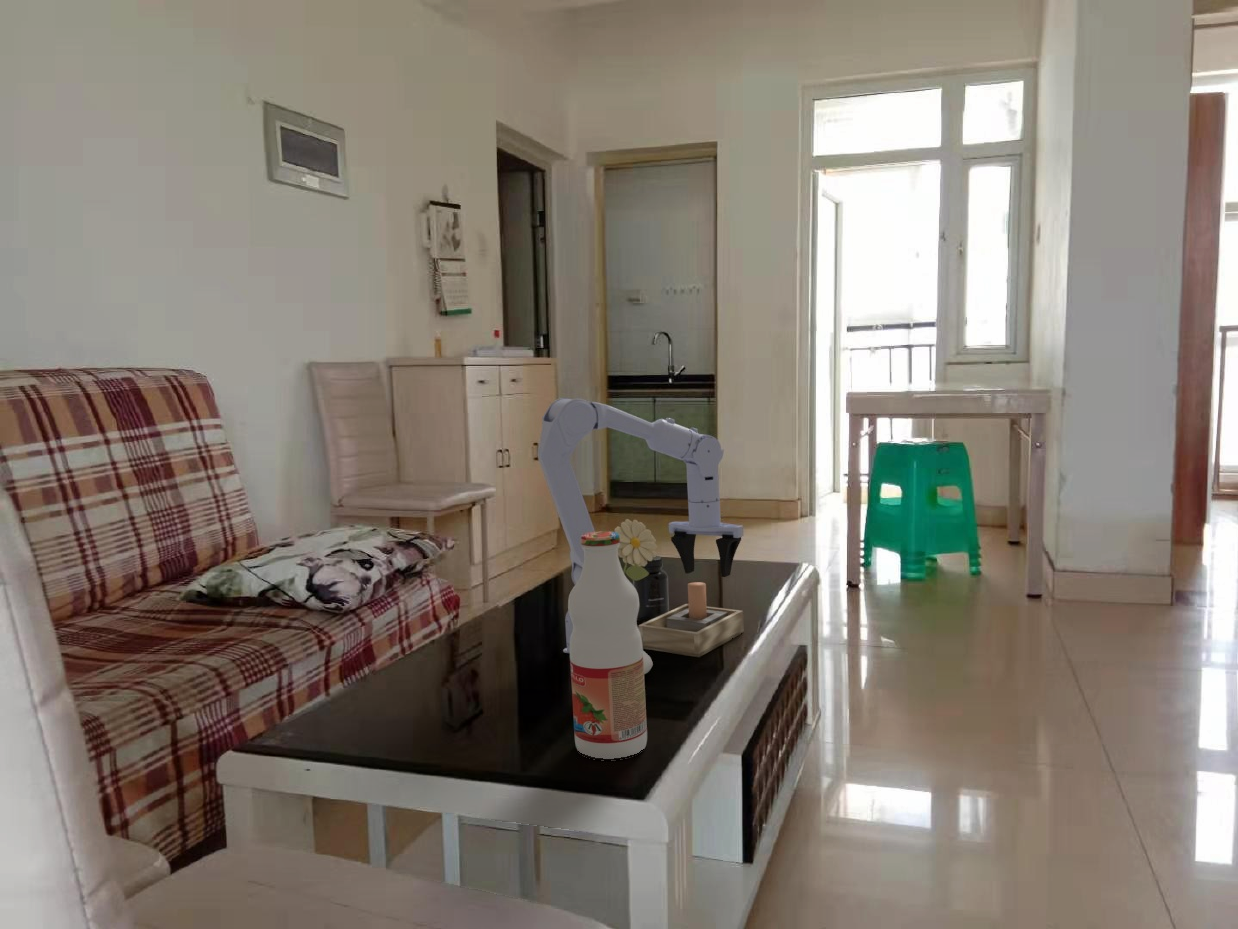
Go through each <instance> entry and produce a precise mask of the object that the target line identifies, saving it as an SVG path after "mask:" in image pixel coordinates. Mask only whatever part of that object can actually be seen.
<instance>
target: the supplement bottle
mask: <svg viewBox="0 0 1238 929" xmlns="http://www.w3.org/2000/svg"><path fill="white" fill-rule="evenodd" d="M663 566H664V565H663V558H662V556H659V555H656V557H653V559H652V561H648V560H647V564H646V565H645V566H641V567H643V568H644V569H645V570H646V571H647V572H648V573H649V575H647V576H646V577H644V578H643V579H640V580H633V579H632V585H633V586H634V587H635V589H636V591H637V593H638V596H639V612H638V616H637V621H638V622H642V623H645V622H647V621H649V620H652V619H654V618H656V617H658V616H660V615H663V614H665V613H667V612H669V611H670V604H669V601H670V600H669V598H670V597H669V576H668V573H667V572H666V571H665V570H664V569H662V568H663Z"/></svg>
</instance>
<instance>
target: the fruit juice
mask: <svg viewBox="0 0 1238 929" xmlns="http://www.w3.org/2000/svg"><path fill="white" fill-rule="evenodd" d="M619 543H620V538H619V534H618V533H616V532H615V531H610V530H609V531H605V530H604V531H595V532H591V533H586V534H583V535H582V536H581V545H582V549H584V563H583V568H582V573H581V575H580V578H579V580H578V582H577V583H576V585H575V584H574V586H573V587H572V589H571V591H570V593H569V595H568V598H567V599H568V602H567V608H568V610H569V614H570V617H571V620H572V623H573V631H572V634H571V637H570V653H569V662H570V663H569V664H570V665H569V666H570V680H571V683H570V684H571V696H572V697H571V699H572V712H573V713H572V715H573V731H574V743H575V749H576V750H577V752H578V751H579V752H580V753H582V754H585V755H588V756H591V757H595V758H603V759H614V758H621V757H627V756H630V755H634V754H637V753H639V752H640V751H641V750H643V749H644V750H645V748H646V746H647V742H648V727H647V724H648V723H647V709H646V708H647V707H646V689H645V688H646V685H645V674H644V664H643V651H644V648H643V645H642V638H641V634H640V631H639V627H638V624H637V623H638V622H637V621H638V620H637V616H638V612H639V596H638V593H637V591H636V589H635V587H634V586H633V582H631V581H630V580H629V579H628V578H627V576H626V575H625V573H624V572H623V570H624V569H623V568H622V565H621V561H620V557H619V555H618V547H619V546H620V544H619ZM568 610H567V611H568ZM644 750H643V751H644ZM579 752H578V753H579ZM641 752H642V751H641ZM641 752H640V753H641ZM580 753H579V754H580ZM640 753H639V754H640ZM637 755H638V754H637Z"/></svg>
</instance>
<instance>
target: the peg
mask: <svg viewBox="0 0 1238 929" xmlns="http://www.w3.org/2000/svg"><path fill="white" fill-rule="evenodd" d="M687 595H688V596H687V599H688V603H687V604H689V618H691V619H699V620H703V619H705V618H707V606H708V605H707V584H706V583H705V582H700V581H699V582H698V581H697V582H696V581H695V582H690V583H687Z"/></svg>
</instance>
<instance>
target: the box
mask: <svg viewBox="0 0 1238 929" xmlns="http://www.w3.org/2000/svg"><path fill="white" fill-rule="evenodd" d="M706 606H707V618H705V619H703V620H699V619H691V618H689V604H688V603H684V604H682V605H680V606H678V607H676V608H674V609H672V610H669V612H667V613H665V614H663V615H660V616H658V617H656V618H654V619H652V620H649V621H647V622H642V623H641V624H639V625H638V624H637V627H638V629H639V631H640V634H641V638H642V645H643V650H644V649H645V650H651V651H657V652H662V653H663V652H664V653H671V654H676V655H681V656H689V657H695V658H700V657H702V656H704V655H706V654H708V653H710V652H711V651H713V650H715V649H716V648H718V647H720V646H722V645H724V644H725V643H728V642H730V641H731V640H733V639H735V638H736V637H738V636H740V635H741V633H742V634H744V633H745V632H744V631H745V630H744V610H739V609H731V608H723V607H716V606H708V605H706ZM743 632H744V633H743ZM732 638H733V639H732Z"/></svg>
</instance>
